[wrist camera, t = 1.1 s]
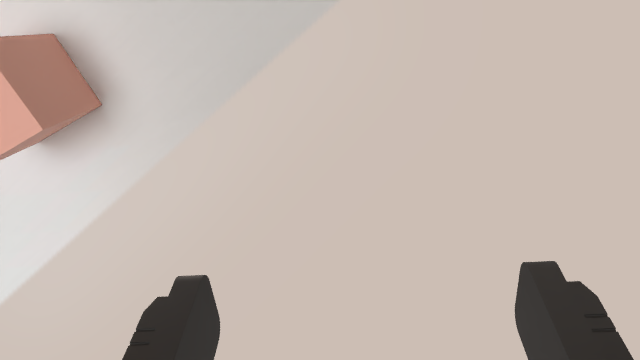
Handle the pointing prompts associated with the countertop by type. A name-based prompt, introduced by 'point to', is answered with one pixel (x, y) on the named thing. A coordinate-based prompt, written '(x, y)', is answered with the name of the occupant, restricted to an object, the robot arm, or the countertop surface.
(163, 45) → the countertop surface
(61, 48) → the salmon pink rectangular block
